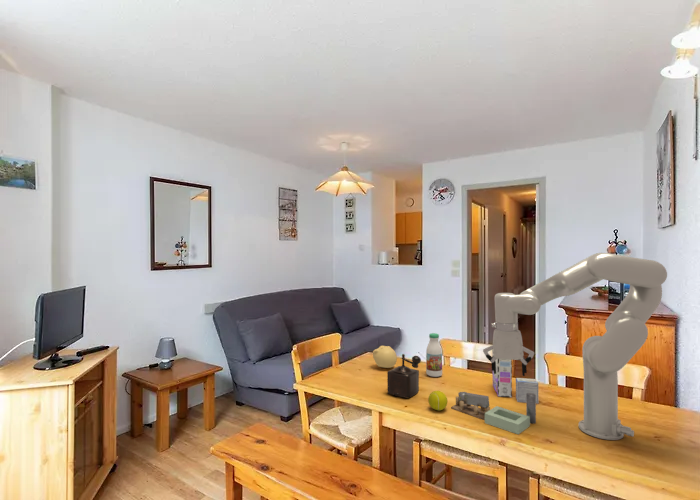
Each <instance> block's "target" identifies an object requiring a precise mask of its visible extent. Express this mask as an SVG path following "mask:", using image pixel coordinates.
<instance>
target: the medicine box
mask: <svg viewBox="0 0 700 500" xmlns="http://www.w3.org/2000/svg"><path fill="white" fill-rule="evenodd" d="M526 393H533V394H535V395H536V405H537V404H538V405H539V403H540V402H539V382H538V381H537V379H535V378H525V377H524V378H523V377H516V378H515V398H516V399H515V400H516V402H517V403H525V404H526Z"/></svg>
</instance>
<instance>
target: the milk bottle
mask: <svg viewBox="0 0 700 500" xmlns="http://www.w3.org/2000/svg"><path fill="white" fill-rule="evenodd" d="M428 337H429V341H428V344H427V347H426V351H425V353H426V354H425V364H426V365H425V368H426V369H425V371H426V372H425V373H426V375H428V376H430V377H435V378H437V377H441V376H442V375H443V350H442V346H441V345H440V341H439V340H440V338H439V337H440V334H439V333H436V332H435V333H434V332H432V333H429V336H428Z"/></svg>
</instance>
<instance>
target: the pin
mask: <svg viewBox="0 0 700 500" xmlns="http://www.w3.org/2000/svg"><path fill="white" fill-rule="evenodd" d="M525 404H526V408H525V409H526V411H525V412H526V414H525V415H527V416H530V425H535V424H536V423H537V421H536V419H537V416H536V415H537V412H536V411H537V408H536V407H537V404H536V395H535V394H533V393H526V403H525Z"/></svg>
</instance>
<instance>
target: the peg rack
mask: <svg viewBox="0 0 700 500" xmlns="http://www.w3.org/2000/svg"><path fill="white" fill-rule="evenodd" d="M450 407H451V408H450V409H452V410H453V411H457V412H460V413H463V414H466V415H469V416H472V417H474V418H477V419H480V420H483V421H485V413H486V412H488V411H489V410H491V406H489V407H487V408H485V407H479V406H476V405H469V404H464V401H460V403H459V396H455V404H454V405H452V406H450Z"/></svg>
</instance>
